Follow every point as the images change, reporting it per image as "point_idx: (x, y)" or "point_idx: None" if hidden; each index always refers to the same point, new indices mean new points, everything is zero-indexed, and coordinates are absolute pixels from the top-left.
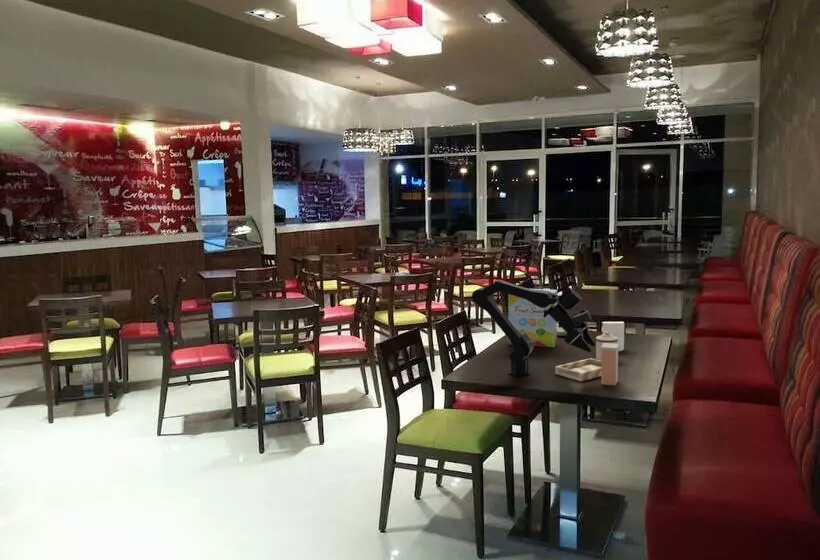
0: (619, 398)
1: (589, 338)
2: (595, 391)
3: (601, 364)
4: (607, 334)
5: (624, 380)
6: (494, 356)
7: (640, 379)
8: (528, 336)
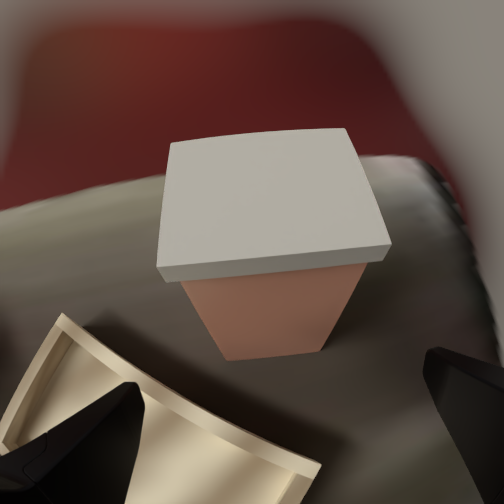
0: (456, 234)
1: (91, 456)
2: (440, 336)
3: (37, 393)
4: None
5: None
6: None
7: None
8: None
